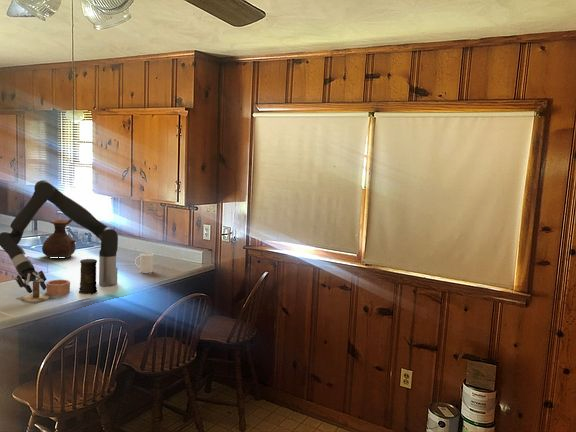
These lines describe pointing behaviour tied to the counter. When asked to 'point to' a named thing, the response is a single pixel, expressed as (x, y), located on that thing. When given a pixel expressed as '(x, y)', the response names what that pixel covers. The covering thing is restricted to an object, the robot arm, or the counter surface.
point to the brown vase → (59, 241)
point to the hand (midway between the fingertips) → (38, 290)
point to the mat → (37, 302)
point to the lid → (35, 294)
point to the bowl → (58, 287)
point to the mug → (145, 262)
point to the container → (88, 276)
